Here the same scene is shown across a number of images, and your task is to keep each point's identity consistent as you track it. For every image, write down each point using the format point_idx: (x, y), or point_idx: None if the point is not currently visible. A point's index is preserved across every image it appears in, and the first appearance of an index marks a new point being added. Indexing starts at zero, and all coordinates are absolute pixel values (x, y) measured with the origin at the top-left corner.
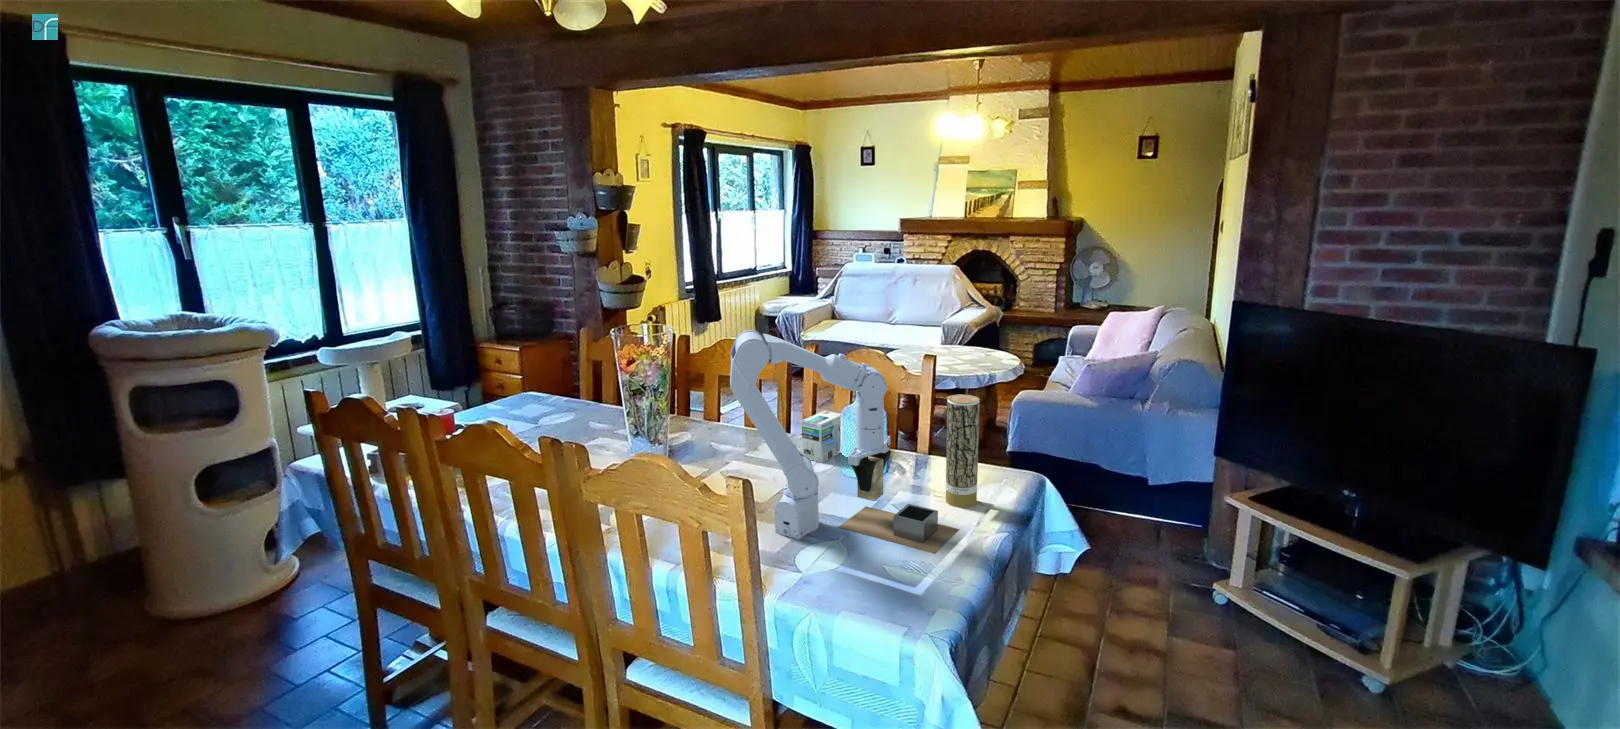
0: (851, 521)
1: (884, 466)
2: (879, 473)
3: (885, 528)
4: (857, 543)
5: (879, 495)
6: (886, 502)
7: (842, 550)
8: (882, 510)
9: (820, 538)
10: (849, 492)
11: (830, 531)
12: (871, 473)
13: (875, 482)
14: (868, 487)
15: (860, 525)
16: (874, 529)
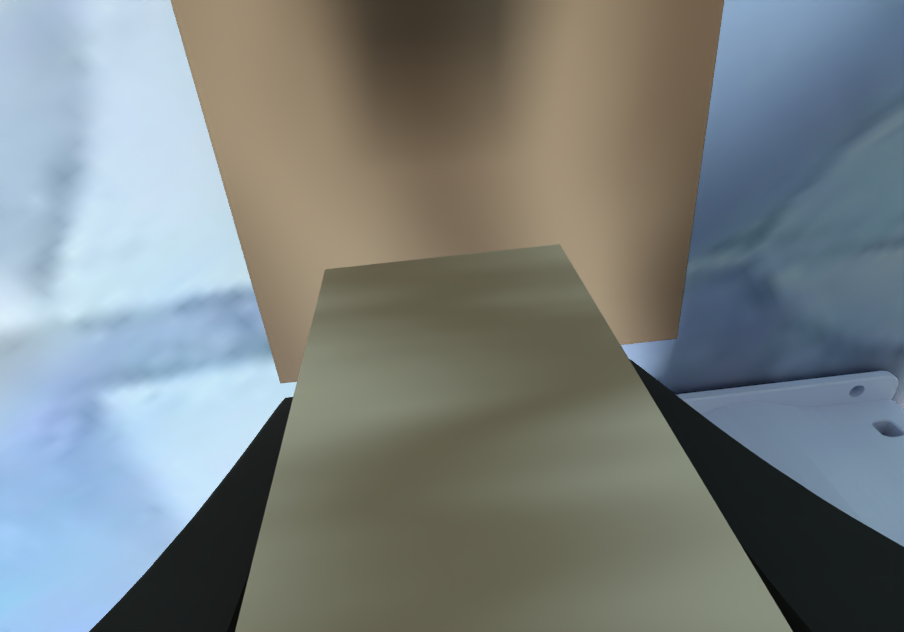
0: None
1: (124, 618)
2: (447, 504)
3: (523, 32)
4: (754, 124)
5: (429, 268)
6: (56, 336)
7: (888, 149)
8: (247, 254)
9: (770, 349)
10: (151, 559)
11: (662, 359)
12: (858, 578)
13: (594, 389)
14: (674, 395)
15: (576, 238)
16: (588, 106)
